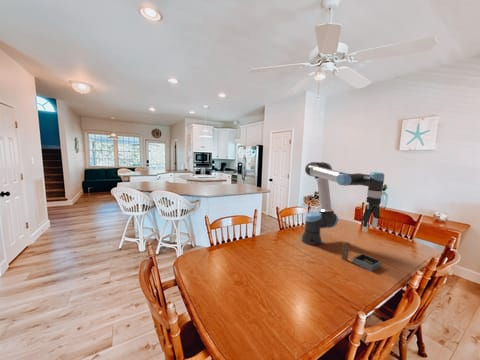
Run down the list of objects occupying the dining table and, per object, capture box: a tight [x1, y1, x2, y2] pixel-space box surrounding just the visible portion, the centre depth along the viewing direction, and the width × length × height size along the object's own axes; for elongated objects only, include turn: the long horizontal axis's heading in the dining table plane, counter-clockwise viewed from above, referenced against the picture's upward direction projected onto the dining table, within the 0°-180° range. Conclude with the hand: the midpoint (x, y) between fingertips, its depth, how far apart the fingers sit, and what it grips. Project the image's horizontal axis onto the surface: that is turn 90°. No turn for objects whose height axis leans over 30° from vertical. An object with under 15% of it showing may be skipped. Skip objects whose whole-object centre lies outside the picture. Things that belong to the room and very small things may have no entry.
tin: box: [352, 253, 382, 273], centre depth 129 cm, size 12×12×4 cm
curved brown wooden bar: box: [340, 240, 350, 262], centre depth 134 cm, size 3×2×12 cm, turn 33°
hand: (369, 229), depth 130 cm, fingers open, 13 cm apart
